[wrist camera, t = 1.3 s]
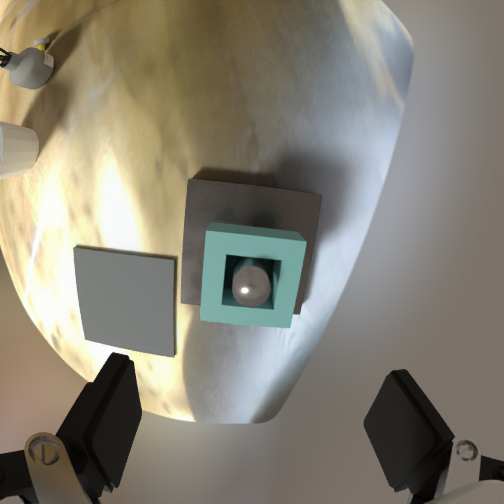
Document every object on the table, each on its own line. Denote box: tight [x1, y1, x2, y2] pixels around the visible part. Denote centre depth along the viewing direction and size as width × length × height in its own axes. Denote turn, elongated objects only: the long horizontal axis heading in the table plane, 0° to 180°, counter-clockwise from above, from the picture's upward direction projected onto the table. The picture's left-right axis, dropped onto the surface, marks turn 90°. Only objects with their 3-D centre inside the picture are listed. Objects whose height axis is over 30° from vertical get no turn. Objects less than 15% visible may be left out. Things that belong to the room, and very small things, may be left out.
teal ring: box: [200, 222, 307, 328], centre depth 20 cm, size 6×6×3 cm
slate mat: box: [73, 247, 175, 358], centre depth 28 cm, size 12×12×1 cm
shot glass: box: [0, 121, 39, 180], centre depth 19 cm, size 7×7×7 cm
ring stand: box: [181, 179, 322, 315], centre depth 22 cm, size 12×12×10 cm
